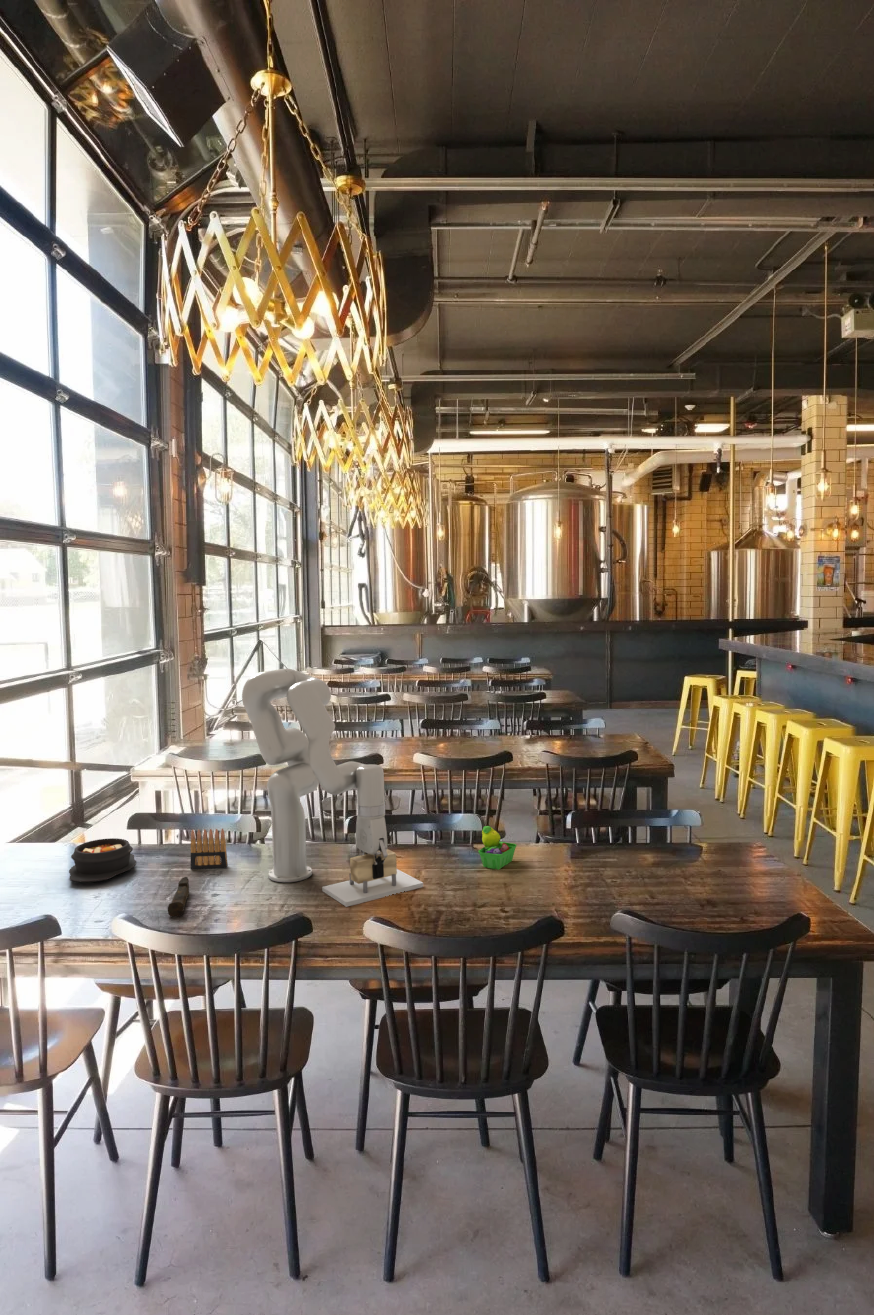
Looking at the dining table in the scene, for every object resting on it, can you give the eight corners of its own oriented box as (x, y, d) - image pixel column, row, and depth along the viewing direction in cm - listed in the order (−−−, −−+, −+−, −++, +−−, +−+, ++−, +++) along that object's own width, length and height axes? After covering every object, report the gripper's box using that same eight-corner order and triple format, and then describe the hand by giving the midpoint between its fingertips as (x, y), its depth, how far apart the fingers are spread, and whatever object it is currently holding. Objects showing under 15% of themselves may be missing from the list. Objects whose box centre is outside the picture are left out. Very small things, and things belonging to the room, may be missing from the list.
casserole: (119, 887, 229) (118, 858, 229) (53, 889, 229) (51, 860, 228) (148, 858, 254) (147, 832, 254) (88, 860, 254) (87, 833, 253)
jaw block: (350, 879, 222) (349, 858, 222) (388, 870, 229) (387, 849, 229) (358, 883, 219) (357, 862, 218) (396, 874, 225) (396, 853, 225)
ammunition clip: (227, 866, 245) (226, 827, 245) (226, 868, 244) (225, 829, 243) (191, 867, 245) (190, 828, 244) (190, 869, 243) (188, 830, 242)
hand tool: (183, 917, 208) (183, 899, 207) (167, 918, 207) (167, 900, 207) (196, 890, 226) (196, 874, 226) (181, 891, 226) (181, 875, 226)
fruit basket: (500, 872, 236) (499, 834, 235) (473, 867, 241) (473, 829, 240) (517, 860, 246) (517, 824, 245) (492, 856, 250) (491, 820, 249)
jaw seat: (322, 891, 223) (321, 876, 223) (397, 872, 237) (396, 858, 236) (346, 906, 212) (345, 891, 211) (423, 886, 225) (422, 872, 225)
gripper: (344, 806, 227) (347, 870, 229) (374, 819, 213) (377, 886, 215) (368, 802, 232) (370, 864, 233) (399, 814, 218) (401, 880, 219)
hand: (373, 874), depth 224 cm, fingers closed on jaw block, 4 cm apart
